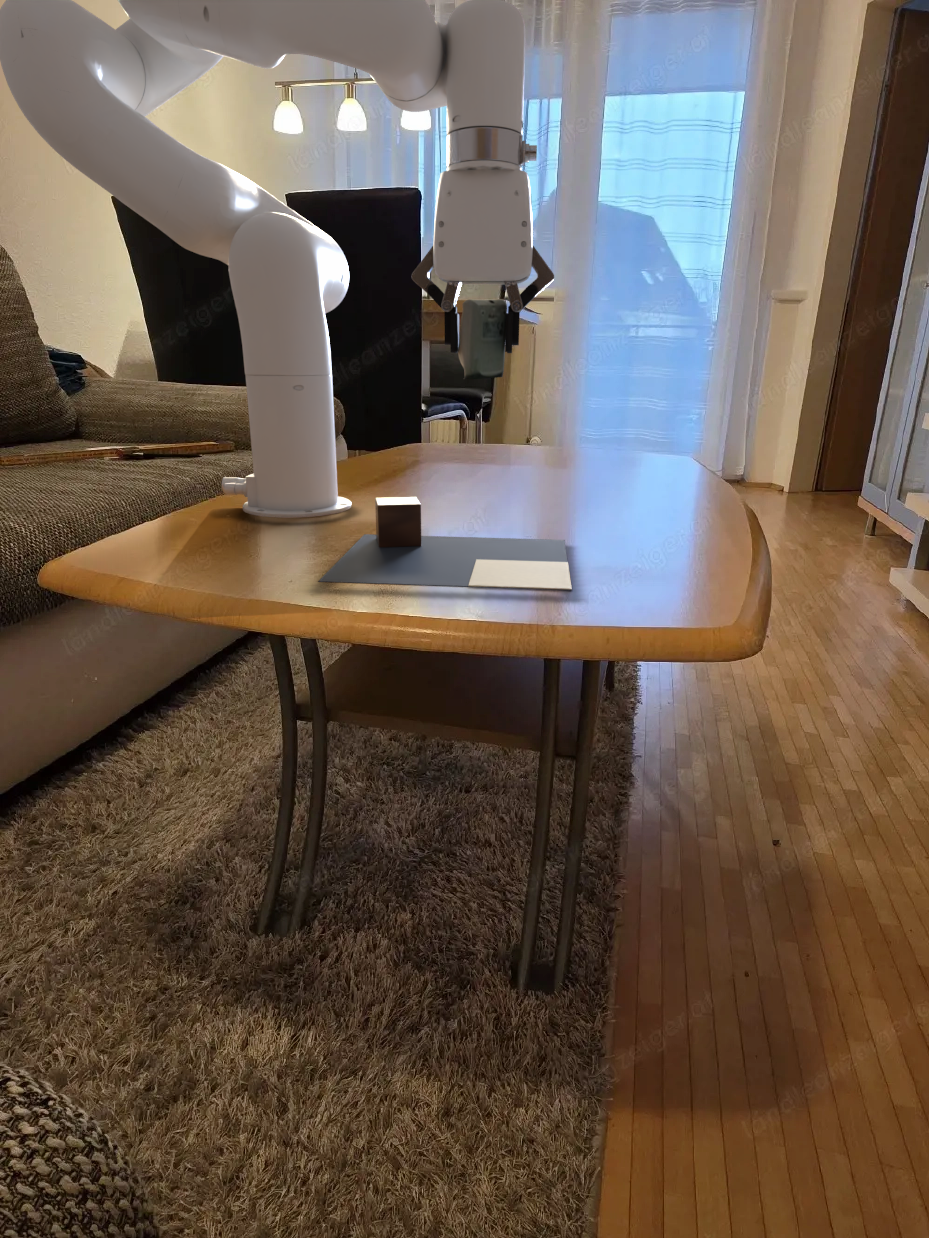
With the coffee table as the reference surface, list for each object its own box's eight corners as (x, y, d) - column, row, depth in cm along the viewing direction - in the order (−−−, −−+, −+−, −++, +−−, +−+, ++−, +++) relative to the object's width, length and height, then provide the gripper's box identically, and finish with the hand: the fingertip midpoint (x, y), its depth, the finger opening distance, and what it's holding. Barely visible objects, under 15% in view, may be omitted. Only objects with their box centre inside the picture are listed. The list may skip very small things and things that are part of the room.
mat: (318, 590, 60) (317, 580, 60) (364, 541, 76) (364, 533, 76) (571, 599, 58) (571, 588, 58) (564, 547, 74) (564, 538, 74)
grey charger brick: (502, 379, 79) (502, 295, 76) (453, 379, 80) (451, 297, 77) (508, 377, 84) (508, 299, 82) (462, 378, 85) (461, 301, 82)
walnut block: (378, 547, 71) (377, 505, 69) (376, 538, 74) (375, 497, 73) (421, 546, 71) (421, 504, 70) (416, 536, 75) (416, 496, 74)
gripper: (568, 167, 78) (559, 353, 84) (404, 168, 79) (407, 352, 85) (573, 148, 71) (563, 353, 77) (393, 150, 72) (397, 352, 78)
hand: (481, 351), depth 81 cm, fingers closed on grey charger brick, 5 cm apart
